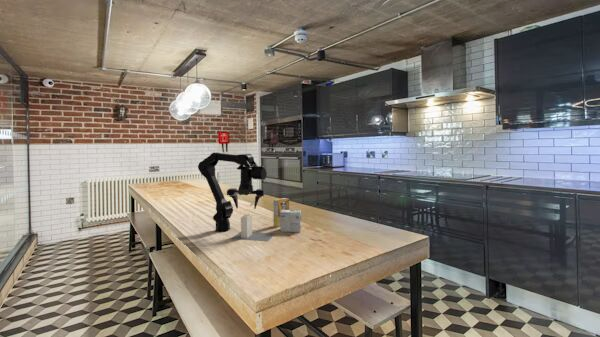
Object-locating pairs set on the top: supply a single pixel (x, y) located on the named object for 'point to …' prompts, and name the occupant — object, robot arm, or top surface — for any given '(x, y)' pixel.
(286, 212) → the light bulb box
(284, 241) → the top surface
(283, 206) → the candy box
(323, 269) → the top surface
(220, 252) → the top surface
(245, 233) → the ivory tile
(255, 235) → the rubber mat
